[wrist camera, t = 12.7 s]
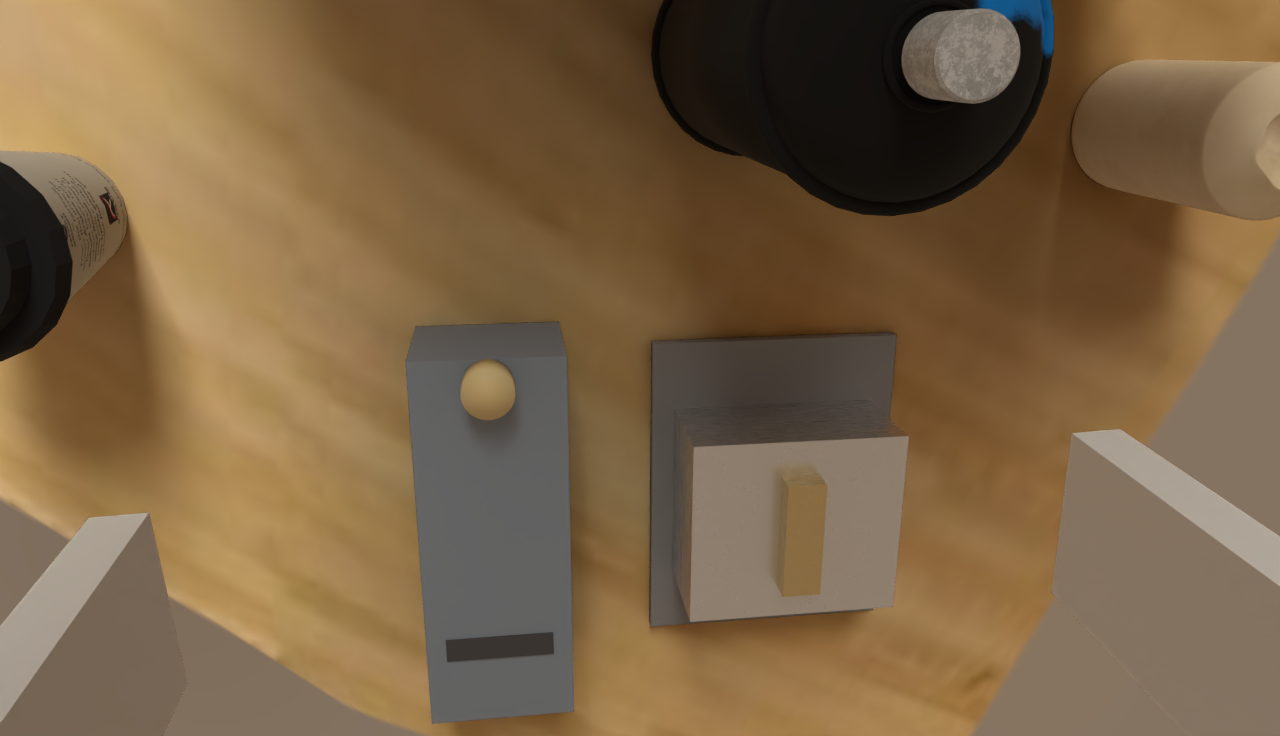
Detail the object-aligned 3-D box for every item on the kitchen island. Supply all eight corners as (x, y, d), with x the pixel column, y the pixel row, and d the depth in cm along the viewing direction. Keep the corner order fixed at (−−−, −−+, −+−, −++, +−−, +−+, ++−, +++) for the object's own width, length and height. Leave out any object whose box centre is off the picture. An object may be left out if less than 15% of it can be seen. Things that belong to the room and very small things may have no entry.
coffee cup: (180, 160, 38) (77, 198, 29) (135, 324, 40) (23, 410, 31) (-13, 91, 37) (-189, 107, 27) (-53, 265, 38) (-231, 336, 29)
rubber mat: (651, 340, 43) (652, 344, 43) (892, 332, 45) (896, 335, 44) (649, 621, 47) (650, 626, 47) (869, 604, 49) (873, 610, 48)
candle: (1115, 35, 42) (1296, 32, 32) (1211, 96, 43) (1410, 110, 34) (1045, 154, 43) (1199, 184, 34) (1140, 209, 44) (1314, 253, 35)
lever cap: (674, 408, 44) (698, 456, 39) (869, 399, 45) (918, 445, 40) (672, 569, 46) (694, 635, 41) (857, 556, 47) (901, 619, 42)
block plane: (415, 326, 42) (402, 372, 36) (558, 321, 42) (568, 365, 36) (438, 655, 46) (430, 742, 41) (566, 645, 47) (576, 729, 41)
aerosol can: (749, 196, 42) (958, 319, 23) (608, 56, 39) (711, 64, 20) (889, 48, 41) (1228, 48, 22) (752, -107, 38) (1003, -256, 19)
